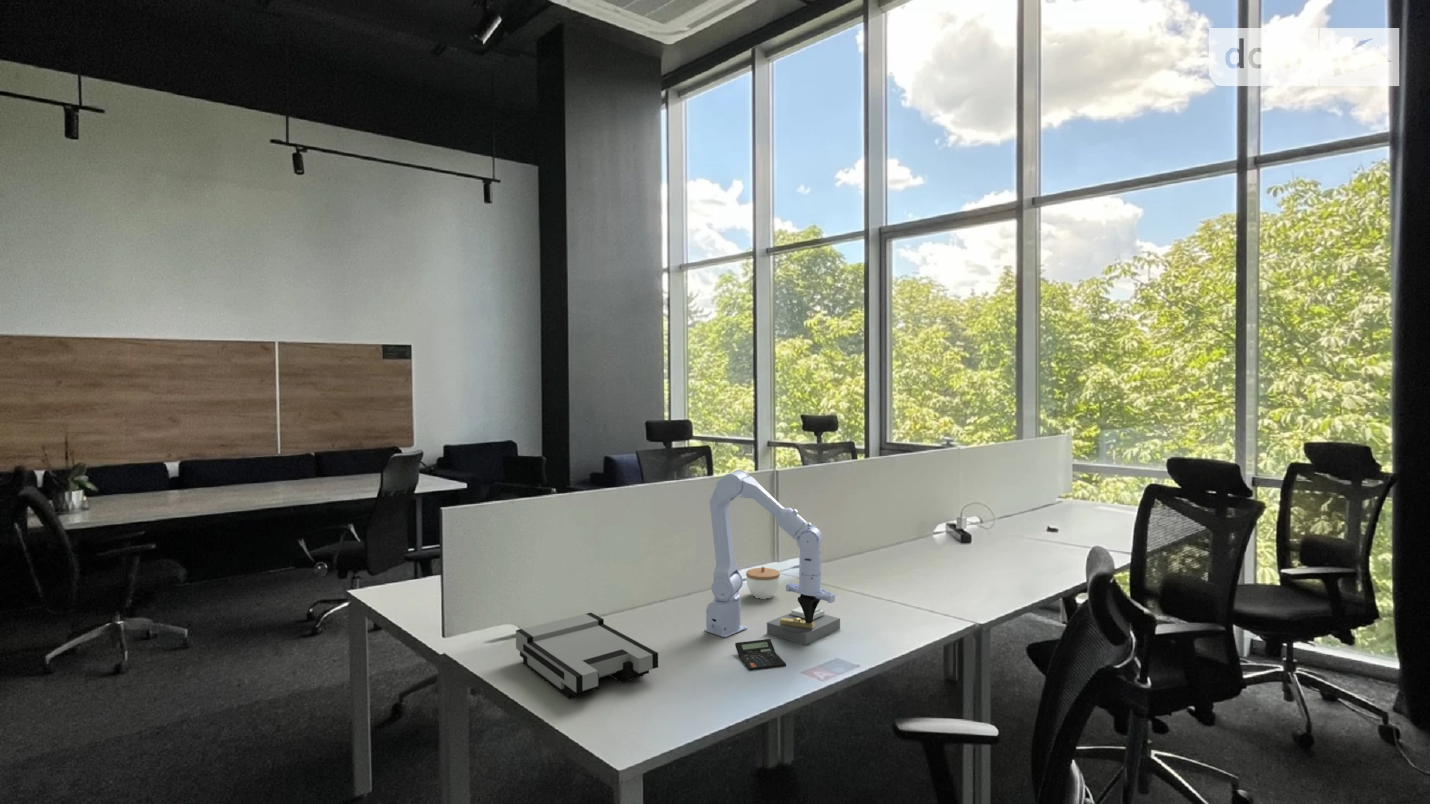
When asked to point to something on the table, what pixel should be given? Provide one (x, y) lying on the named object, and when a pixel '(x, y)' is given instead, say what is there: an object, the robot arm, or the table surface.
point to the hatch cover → (800, 613)
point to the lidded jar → (763, 582)
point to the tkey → (797, 622)
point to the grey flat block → (804, 629)
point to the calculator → (759, 655)
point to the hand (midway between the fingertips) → (809, 622)
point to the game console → (582, 654)
